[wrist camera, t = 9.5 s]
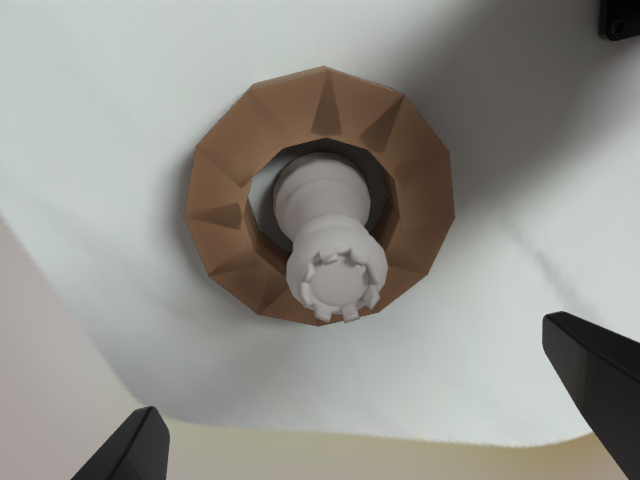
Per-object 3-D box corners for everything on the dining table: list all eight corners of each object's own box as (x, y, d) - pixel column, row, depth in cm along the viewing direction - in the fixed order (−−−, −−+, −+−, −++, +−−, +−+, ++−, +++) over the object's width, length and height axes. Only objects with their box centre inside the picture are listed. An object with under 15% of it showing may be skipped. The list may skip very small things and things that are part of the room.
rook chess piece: (327, 254, 21) (349, 368, 14) (253, 204, 19) (235, 304, 12) (386, 187, 20) (445, 275, 12) (312, 128, 18) (330, 189, 11)
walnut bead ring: (420, 41, 17) (439, 42, 15) (444, 267, 22) (461, 293, 20) (160, 107, 17) (142, 117, 15) (241, 315, 22) (236, 345, 20)
